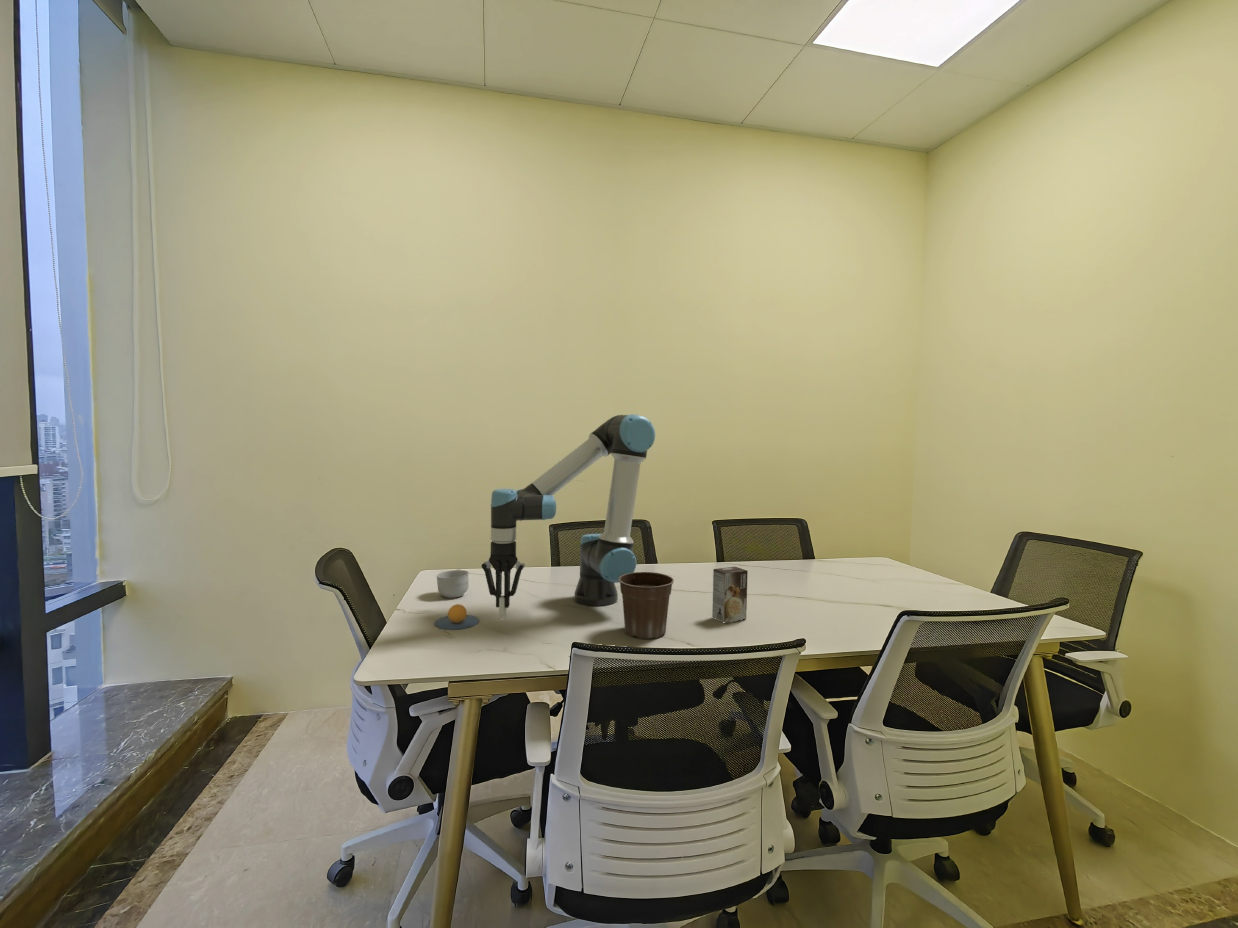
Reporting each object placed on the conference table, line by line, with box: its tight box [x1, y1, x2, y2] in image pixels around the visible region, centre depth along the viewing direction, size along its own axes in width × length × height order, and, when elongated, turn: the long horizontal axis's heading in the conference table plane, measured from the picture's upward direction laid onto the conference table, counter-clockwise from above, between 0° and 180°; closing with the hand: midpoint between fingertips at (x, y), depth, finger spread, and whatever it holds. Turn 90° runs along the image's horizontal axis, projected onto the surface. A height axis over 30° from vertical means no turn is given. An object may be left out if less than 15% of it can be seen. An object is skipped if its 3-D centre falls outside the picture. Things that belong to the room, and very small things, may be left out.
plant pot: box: [618, 571, 675, 640], centre depth 170 cm, size 16×16×16 cm
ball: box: [447, 603, 468, 623], centre depth 175 cm, size 6×6×6 cm
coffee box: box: [711, 566, 749, 623], centre depth 184 cm, size 9×6×16 cm
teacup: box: [436, 568, 470, 599], centre depth 203 cm, size 14×11×8 cm
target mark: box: [434, 614, 480, 631], centre depth 175 cm, size 13×13×1 cm
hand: (502, 617), depth 175 cm, fingers closed
